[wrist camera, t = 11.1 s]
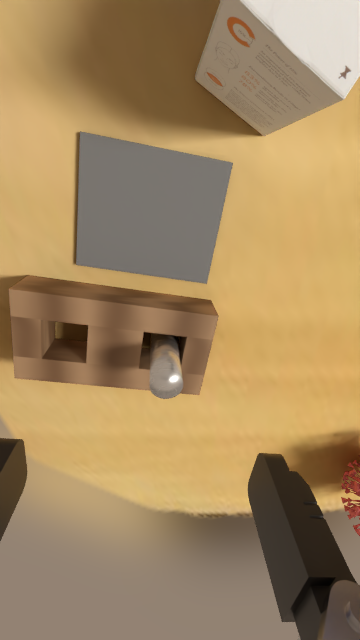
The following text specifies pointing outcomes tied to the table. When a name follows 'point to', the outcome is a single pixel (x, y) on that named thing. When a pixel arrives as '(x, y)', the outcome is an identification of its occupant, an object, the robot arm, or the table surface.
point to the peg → (165, 366)
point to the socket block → (105, 333)
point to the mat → (148, 208)
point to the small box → (281, 58)
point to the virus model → (356, 488)
